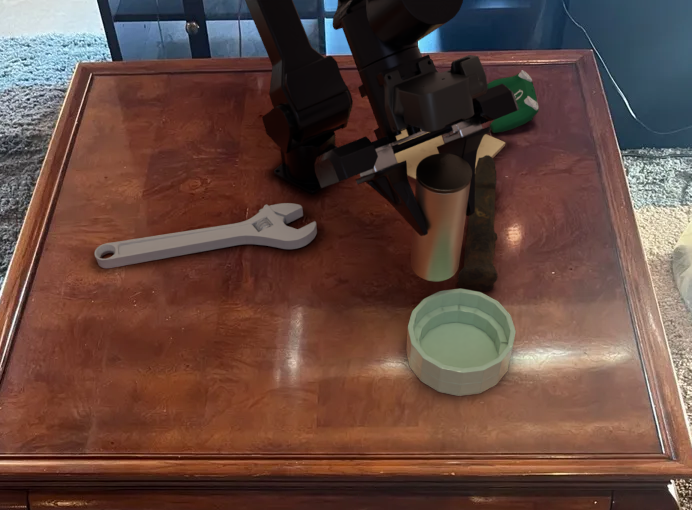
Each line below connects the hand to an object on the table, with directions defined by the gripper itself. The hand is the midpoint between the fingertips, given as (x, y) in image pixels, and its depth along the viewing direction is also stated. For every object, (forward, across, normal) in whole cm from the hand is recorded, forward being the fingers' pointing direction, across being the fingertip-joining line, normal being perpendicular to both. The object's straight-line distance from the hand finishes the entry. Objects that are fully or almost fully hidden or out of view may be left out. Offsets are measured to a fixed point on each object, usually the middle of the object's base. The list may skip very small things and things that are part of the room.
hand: (447, 225), depth 75 cm
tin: (+4, 0, +6) cm, 7 cm away
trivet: (-6, +14, +25) cm, 29 cm away
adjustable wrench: (-6, -16, +26) cm, 31 cm away
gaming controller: (-7, +27, +26) cm, 38 cm away
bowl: (+13, -1, +5) cm, 14 cm away
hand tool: (+4, +10, +15) cm, 19 cm away
